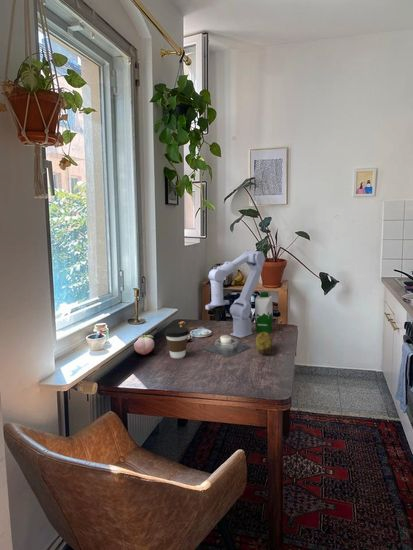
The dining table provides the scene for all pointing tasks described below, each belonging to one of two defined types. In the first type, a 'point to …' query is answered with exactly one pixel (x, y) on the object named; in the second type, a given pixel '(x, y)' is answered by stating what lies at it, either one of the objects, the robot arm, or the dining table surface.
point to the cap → (225, 339)
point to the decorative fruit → (144, 344)
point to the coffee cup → (177, 341)
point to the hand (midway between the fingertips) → (218, 321)
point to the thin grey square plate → (226, 348)
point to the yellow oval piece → (263, 343)
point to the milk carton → (263, 312)
